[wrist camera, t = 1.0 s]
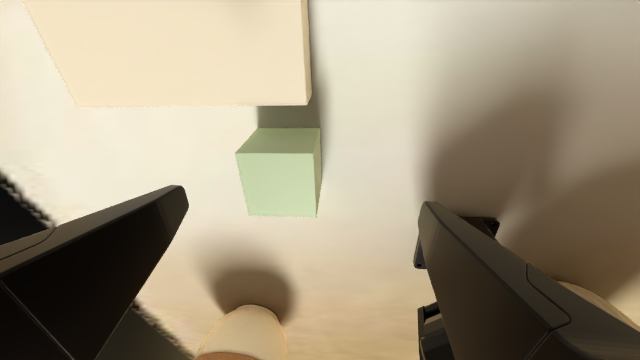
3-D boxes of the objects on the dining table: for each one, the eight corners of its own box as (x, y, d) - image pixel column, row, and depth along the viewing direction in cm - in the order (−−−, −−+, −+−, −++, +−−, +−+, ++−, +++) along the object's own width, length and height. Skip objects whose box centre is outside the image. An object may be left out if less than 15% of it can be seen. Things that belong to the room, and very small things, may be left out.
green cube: (321, 181, 22) (316, 217, 18) (266, 181, 23) (248, 215, 18) (319, 127, 20) (313, 153, 16) (258, 127, 20) (235, 153, 16)
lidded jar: (200, 304, 33) (154, 391, 25) (264, 283, 30) (235, 375, 22) (249, 345, 38) (223, 430, 30) (310, 330, 34) (299, 422, 26)
